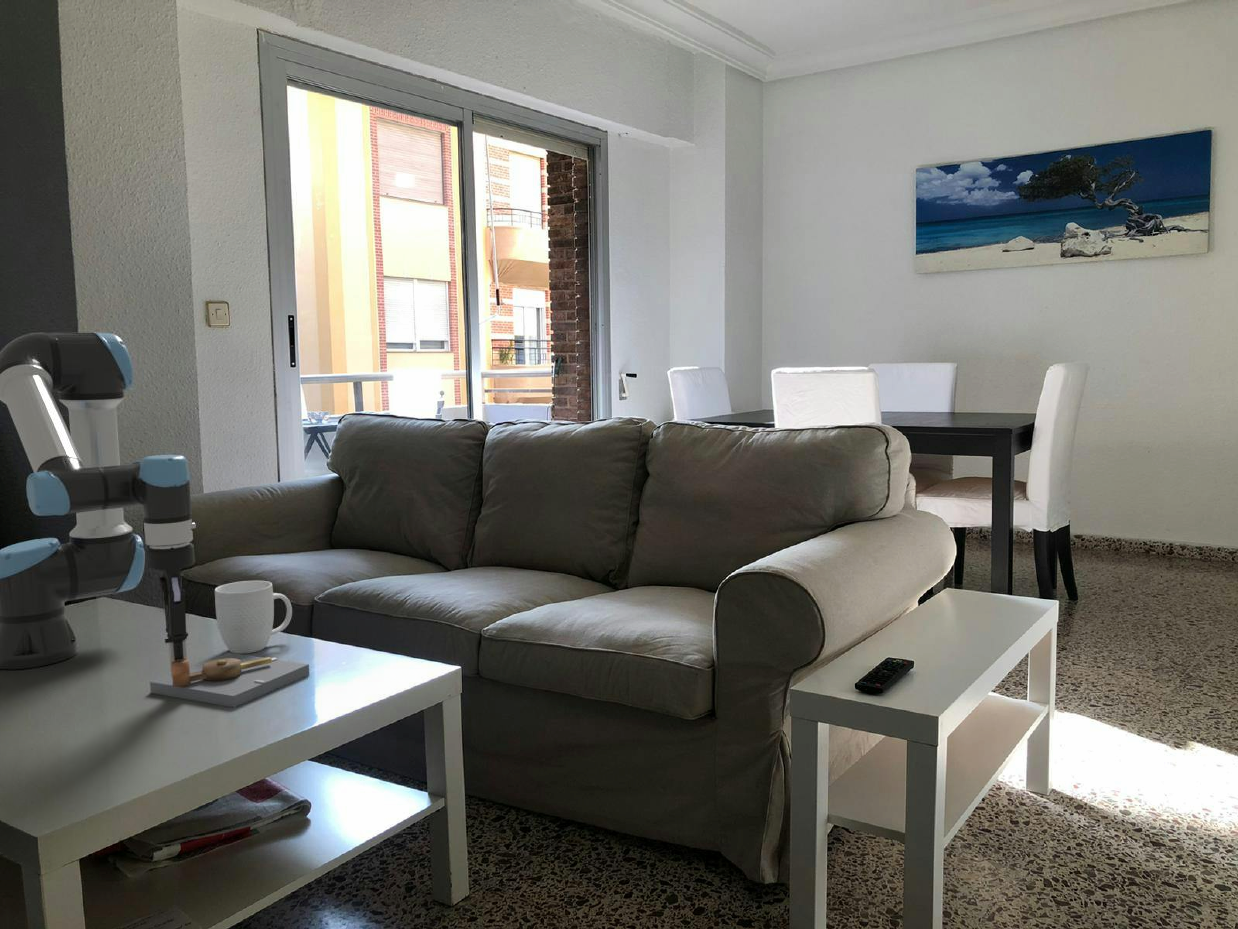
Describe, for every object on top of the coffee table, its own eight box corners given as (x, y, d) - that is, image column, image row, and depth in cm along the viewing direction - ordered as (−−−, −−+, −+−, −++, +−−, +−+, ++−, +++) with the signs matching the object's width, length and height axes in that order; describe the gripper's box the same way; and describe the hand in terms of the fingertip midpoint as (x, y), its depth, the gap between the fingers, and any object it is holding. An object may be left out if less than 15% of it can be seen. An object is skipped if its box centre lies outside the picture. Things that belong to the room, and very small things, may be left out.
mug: (283, 634, 206) (280, 574, 205) (303, 645, 198) (299, 583, 196) (211, 648, 197) (207, 586, 195) (228, 661, 188) (224, 596, 187)
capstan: (179, 690, 165) (177, 667, 165) (167, 681, 170) (165, 659, 169) (277, 667, 176) (276, 646, 176) (263, 659, 181) (262, 639, 181)
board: (150, 692, 171) (149, 680, 171) (230, 662, 187) (229, 651, 187) (234, 707, 163) (233, 694, 162) (309, 674, 179) (309, 662, 179)
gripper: (198, 548, 163) (207, 682, 166) (188, 536, 174) (197, 662, 177) (149, 553, 160) (159, 690, 162) (142, 540, 171) (152, 669, 173)
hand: (179, 675), depth 170 cm, fingers closed
